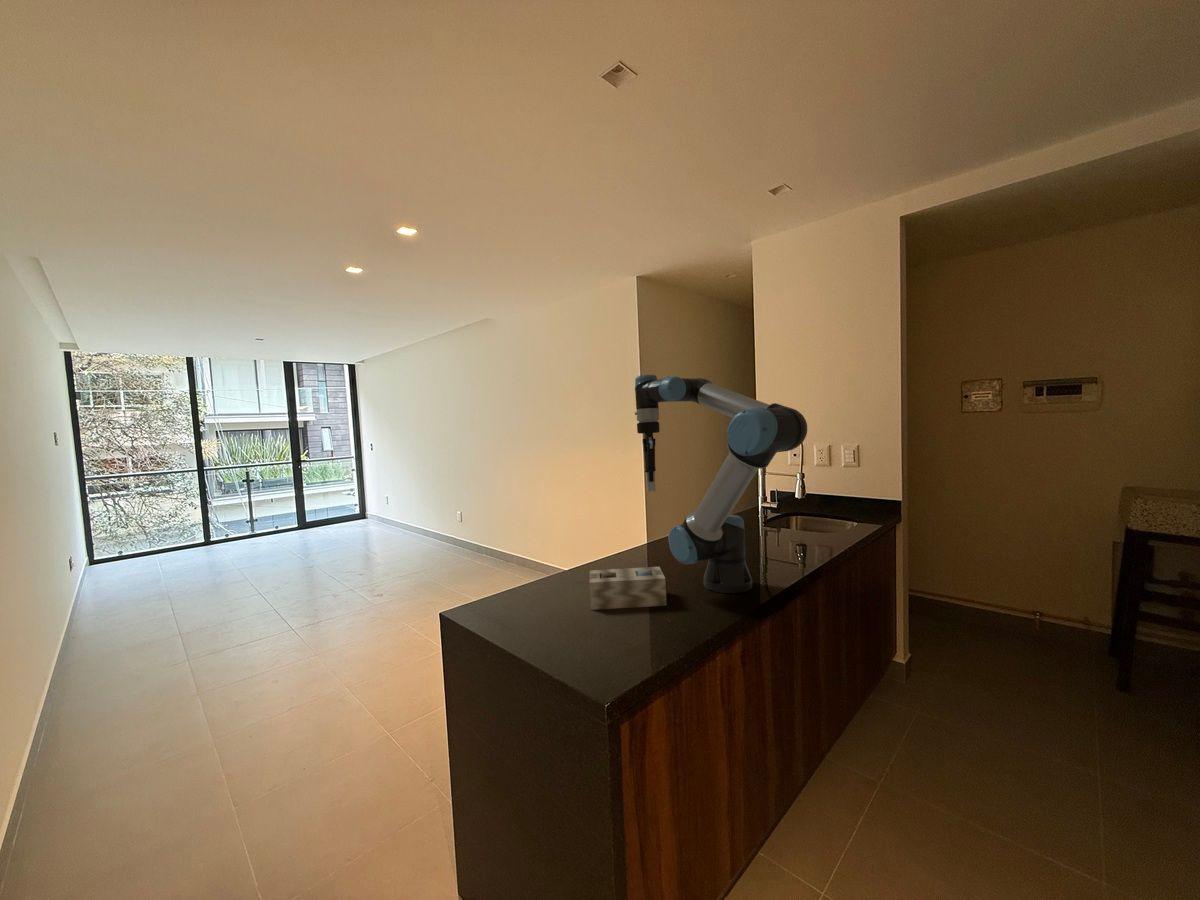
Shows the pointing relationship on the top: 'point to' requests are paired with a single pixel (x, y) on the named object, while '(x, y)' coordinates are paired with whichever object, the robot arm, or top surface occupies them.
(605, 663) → the top surface
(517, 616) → the top surface
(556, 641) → the top surface
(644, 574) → the blue peg
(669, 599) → the top surface
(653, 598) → the birch block
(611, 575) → the walnut peg
